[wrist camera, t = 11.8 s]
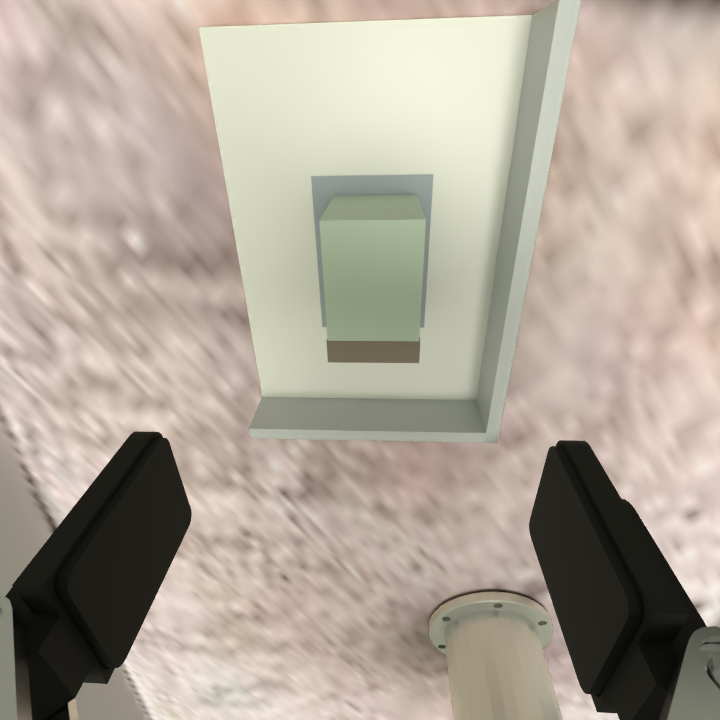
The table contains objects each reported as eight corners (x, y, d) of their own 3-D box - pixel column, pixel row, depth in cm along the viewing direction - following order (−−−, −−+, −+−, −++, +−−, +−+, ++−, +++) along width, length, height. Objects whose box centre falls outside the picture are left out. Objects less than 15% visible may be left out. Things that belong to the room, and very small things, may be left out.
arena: (484, 404, 31) (497, 442, 27) (265, 400, 32) (251, 438, 28) (546, 16, 20) (581, -3, 16) (203, 29, 20) (165, 14, 17)
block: (418, 193, 23) (427, 219, 18) (412, 312, 27) (419, 363, 21) (333, 195, 23) (318, 220, 18) (339, 312, 27) (327, 362, 22)
